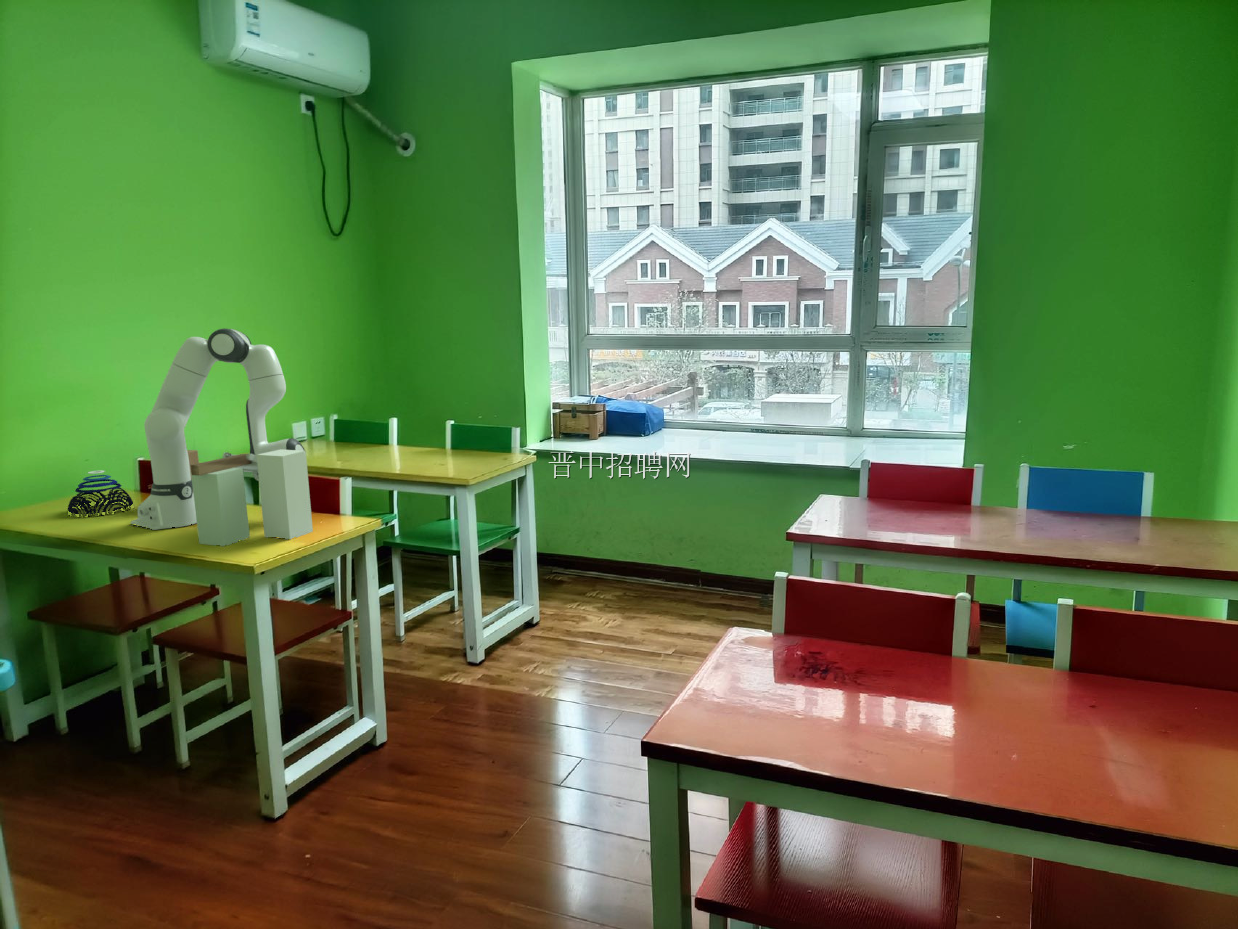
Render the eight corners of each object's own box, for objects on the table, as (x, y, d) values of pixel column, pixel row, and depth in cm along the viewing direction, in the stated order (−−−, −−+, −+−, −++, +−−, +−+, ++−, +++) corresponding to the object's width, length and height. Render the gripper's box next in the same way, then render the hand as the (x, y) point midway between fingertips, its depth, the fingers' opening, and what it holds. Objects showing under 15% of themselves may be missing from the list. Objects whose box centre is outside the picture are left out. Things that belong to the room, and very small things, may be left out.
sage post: (199, 543, 256) (191, 472, 252) (225, 535, 265) (217, 466, 261) (224, 546, 252) (216, 474, 248) (249, 537, 261) (242, 468, 257)
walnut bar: (191, 475, 248) (190, 465, 247) (244, 463, 266) (243, 453, 265) (199, 475, 247) (198, 465, 246) (251, 463, 265) (250, 454, 264)
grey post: (264, 537, 262) (256, 454, 257) (287, 529, 271) (280, 449, 266) (290, 539, 258) (282, 456, 253) (312, 531, 267) (305, 450, 263)
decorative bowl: (55, 514, 298) (49, 474, 295) (111, 502, 315) (106, 465, 312) (90, 520, 289) (84, 479, 286) (145, 507, 306) (140, 468, 303)
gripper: (245, 459, 278) (214, 444, 266) (294, 462, 271) (264, 446, 258) (239, 477, 276) (207, 463, 264) (289, 480, 269) (258, 466, 257)
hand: (236, 455), depth 261 cm, fingers open, 8 cm apart
